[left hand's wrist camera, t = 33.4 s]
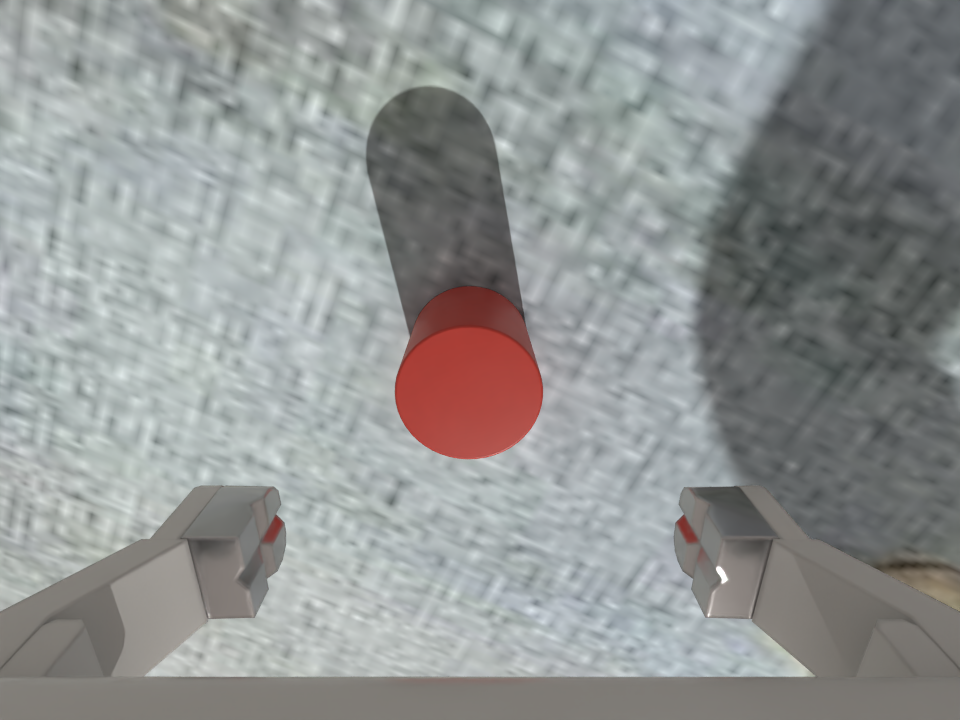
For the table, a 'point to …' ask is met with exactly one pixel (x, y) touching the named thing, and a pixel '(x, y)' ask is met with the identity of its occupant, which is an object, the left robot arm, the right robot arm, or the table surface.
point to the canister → (469, 375)
